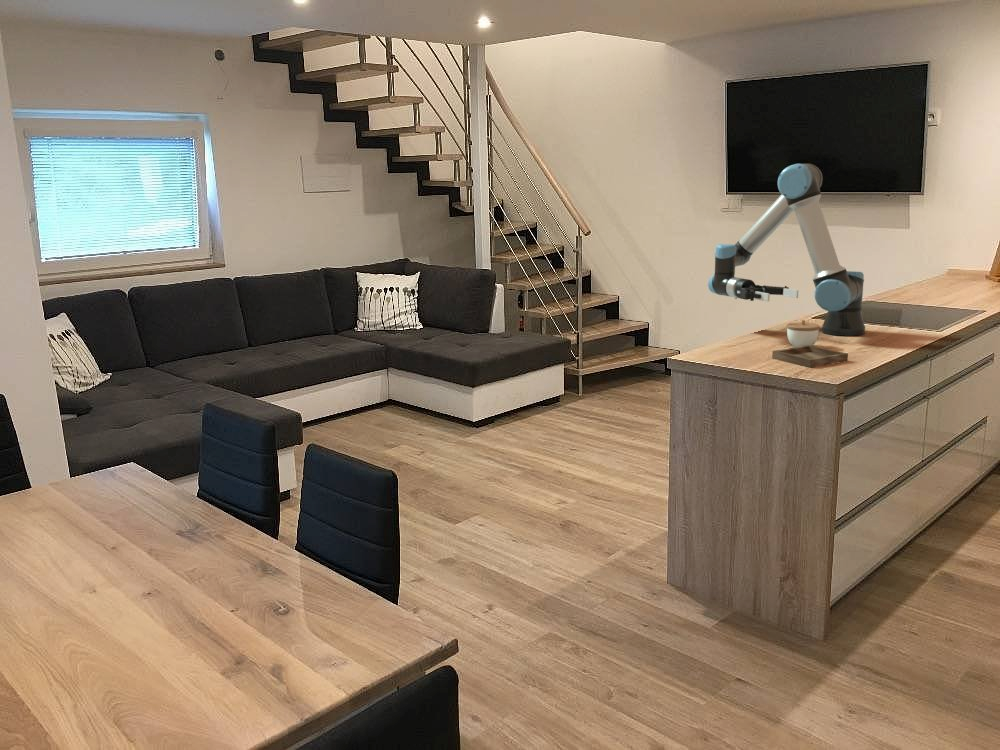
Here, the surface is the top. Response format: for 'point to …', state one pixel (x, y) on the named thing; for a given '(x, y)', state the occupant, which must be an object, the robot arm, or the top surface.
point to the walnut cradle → (809, 356)
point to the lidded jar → (802, 333)
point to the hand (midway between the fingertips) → (783, 295)
